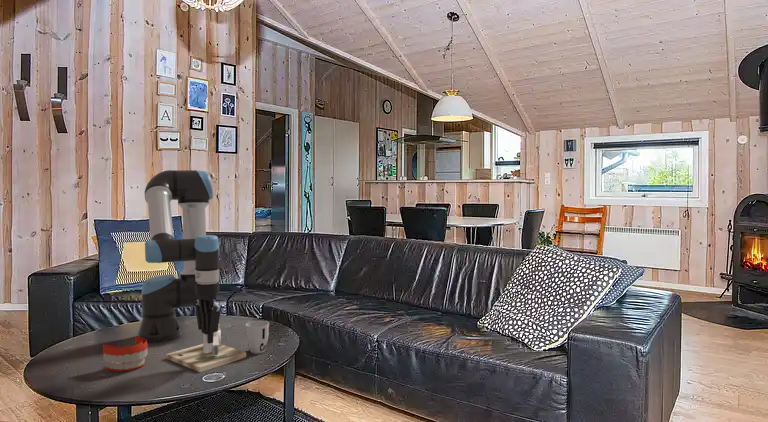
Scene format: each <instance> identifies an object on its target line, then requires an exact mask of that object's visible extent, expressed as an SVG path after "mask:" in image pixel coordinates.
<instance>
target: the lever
mask: <svg viewBox="0 0 768 422" xmlns="http://www.w3.org/2000/svg"><path fill="white" fill-rule="evenodd" d="M221 335H222V330H221V324H220V323H219V325H218V331H217V332H214V333H213V352H212V354H214V355H218V353H219V345H221V343H222V336H221Z"/></svg>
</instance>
